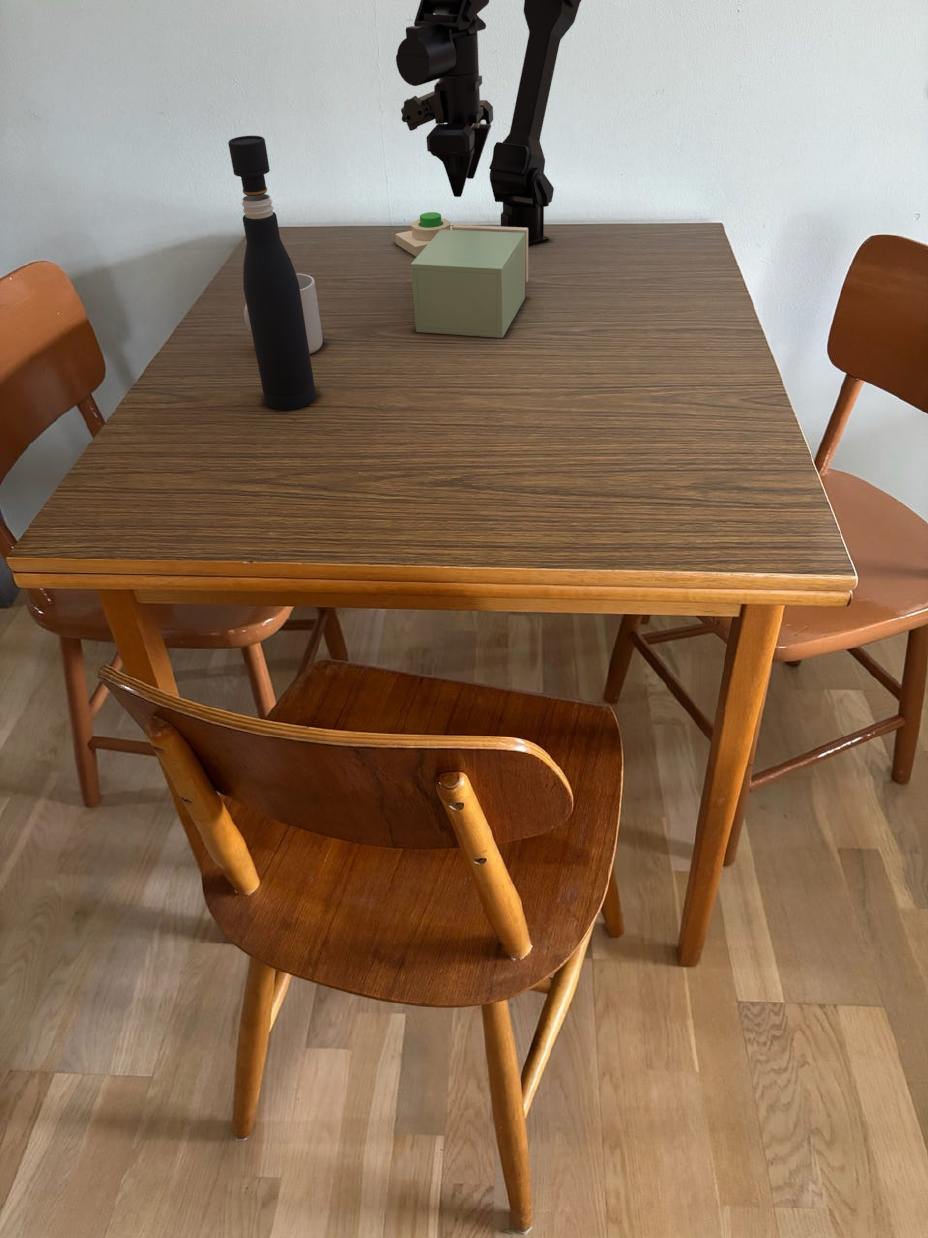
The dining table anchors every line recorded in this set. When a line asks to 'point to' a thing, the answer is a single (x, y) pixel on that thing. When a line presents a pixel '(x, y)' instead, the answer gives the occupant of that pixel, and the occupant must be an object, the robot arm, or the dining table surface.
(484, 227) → the drawer
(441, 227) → the control block
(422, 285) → the sage green box
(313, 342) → the cup
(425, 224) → the button
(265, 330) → the black insulated water bottle
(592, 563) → the dining table surface
